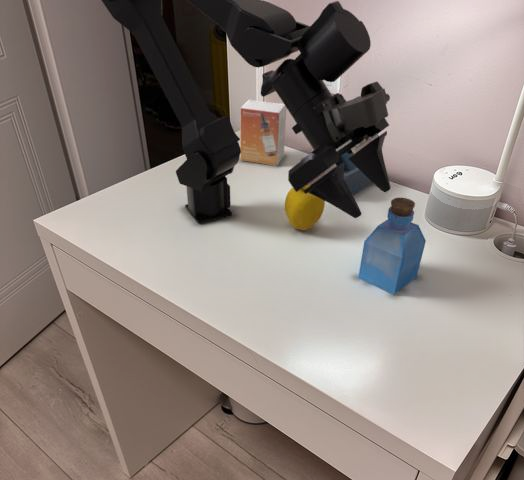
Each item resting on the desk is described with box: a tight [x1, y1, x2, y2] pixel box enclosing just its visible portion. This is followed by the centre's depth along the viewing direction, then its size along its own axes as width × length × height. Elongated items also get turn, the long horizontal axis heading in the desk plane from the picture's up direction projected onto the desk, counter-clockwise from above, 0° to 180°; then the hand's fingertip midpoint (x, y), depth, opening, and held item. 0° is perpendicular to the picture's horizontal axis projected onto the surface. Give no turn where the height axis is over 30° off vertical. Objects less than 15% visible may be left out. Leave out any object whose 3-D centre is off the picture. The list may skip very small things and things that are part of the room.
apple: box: [284, 185, 326, 231], centre depth 87 cm, size 6×6×8 cm
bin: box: [300, 152, 374, 196], centre depth 101 cm, size 11×11×5 cm
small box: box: [239, 99, 287, 167], centre depth 107 cm, size 8×6×10 cm
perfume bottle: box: [358, 197, 427, 296], centre depth 75 cm, size 6×6×12 cm
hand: (373, 203), depth 74 cm, fingers open, 9 cm apart
